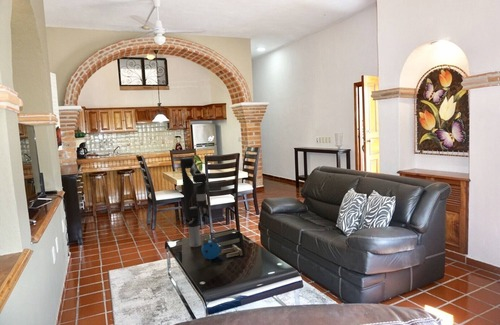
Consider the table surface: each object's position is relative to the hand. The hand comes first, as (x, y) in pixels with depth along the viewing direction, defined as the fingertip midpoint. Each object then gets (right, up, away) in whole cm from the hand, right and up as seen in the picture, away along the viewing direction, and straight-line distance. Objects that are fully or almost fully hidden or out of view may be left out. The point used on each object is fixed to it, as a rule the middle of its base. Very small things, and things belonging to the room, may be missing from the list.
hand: (203, 221), depth 276 cm
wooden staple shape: (+21, -25, +2) cm, 33 cm away
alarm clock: (+6, -27, -4) cm, 28 cm away
